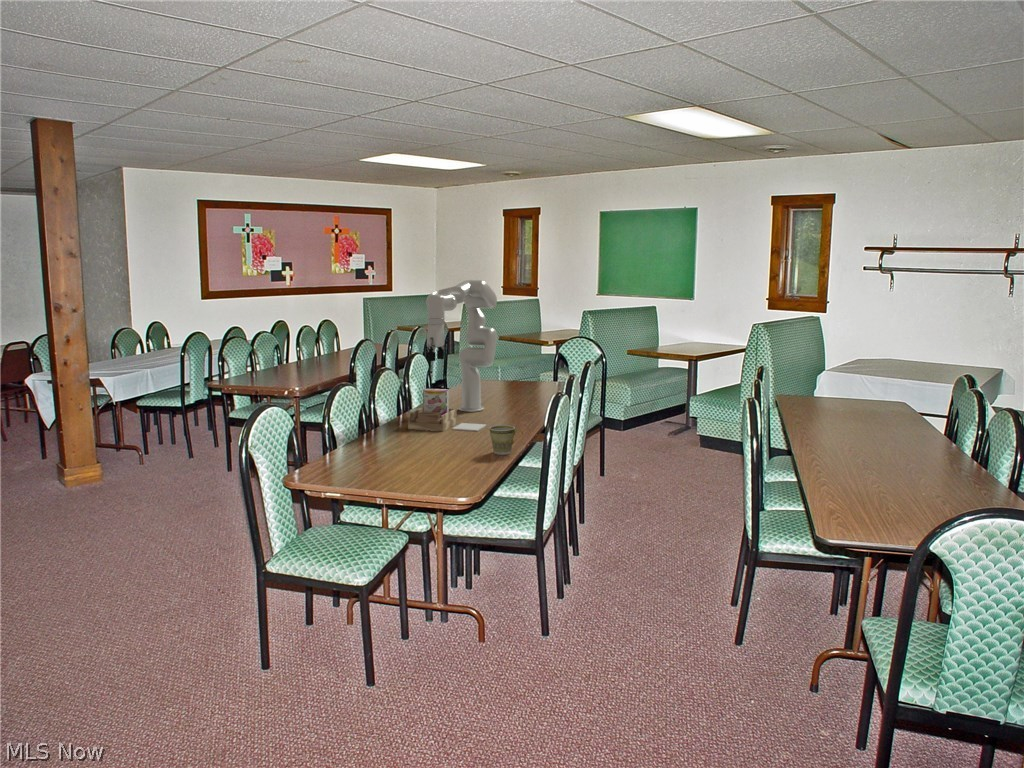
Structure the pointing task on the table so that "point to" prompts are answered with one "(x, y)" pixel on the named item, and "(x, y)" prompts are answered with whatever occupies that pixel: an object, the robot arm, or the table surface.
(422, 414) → the offcut top
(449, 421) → the rack
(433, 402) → the candy bar box
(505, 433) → the ceramic cup
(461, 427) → the mat
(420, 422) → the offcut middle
